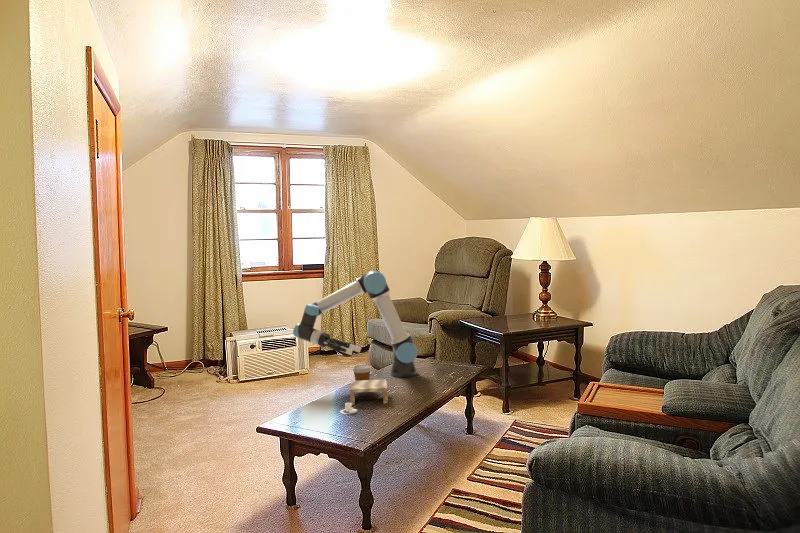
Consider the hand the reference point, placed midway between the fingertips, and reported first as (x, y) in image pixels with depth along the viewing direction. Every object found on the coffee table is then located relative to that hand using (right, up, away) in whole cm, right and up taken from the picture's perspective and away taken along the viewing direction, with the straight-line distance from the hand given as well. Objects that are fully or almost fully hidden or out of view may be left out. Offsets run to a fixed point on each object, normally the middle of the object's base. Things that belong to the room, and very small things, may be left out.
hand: (356, 351), depth 298 cm
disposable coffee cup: (+3, -20, 0) cm, 20 cm away
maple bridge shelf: (+8, -21, -18) cm, 29 cm away
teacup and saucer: (-2, -23, -39) cm, 45 cm away
